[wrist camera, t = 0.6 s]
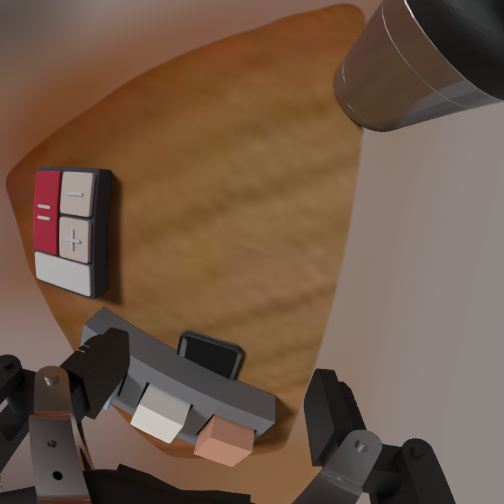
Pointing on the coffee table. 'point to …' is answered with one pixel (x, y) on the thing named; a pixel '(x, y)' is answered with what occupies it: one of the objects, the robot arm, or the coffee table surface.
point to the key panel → (183, 382)
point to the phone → (210, 353)
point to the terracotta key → (224, 441)
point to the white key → (160, 414)
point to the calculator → (72, 228)
